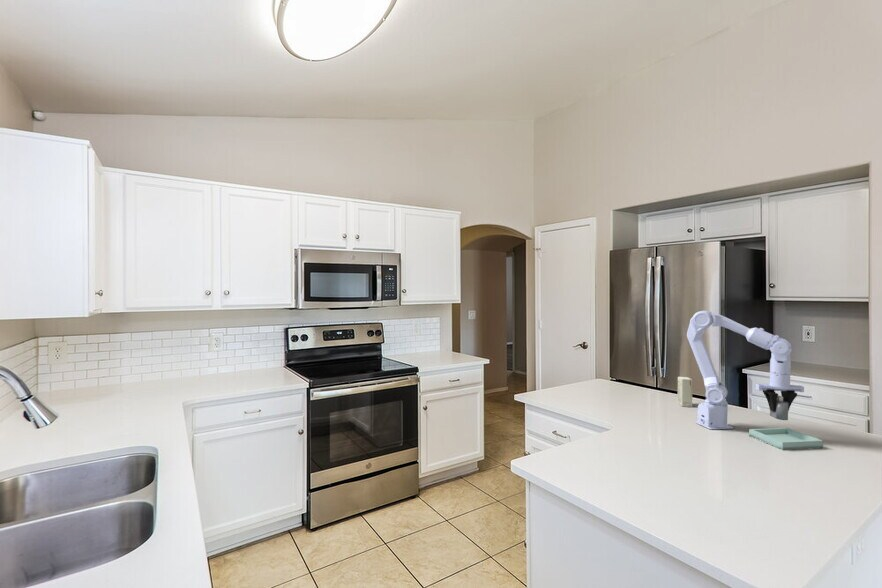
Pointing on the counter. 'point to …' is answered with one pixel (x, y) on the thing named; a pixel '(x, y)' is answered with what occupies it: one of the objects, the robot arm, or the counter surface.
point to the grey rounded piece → (780, 409)
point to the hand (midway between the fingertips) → (779, 411)
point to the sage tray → (785, 438)
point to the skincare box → (685, 391)
